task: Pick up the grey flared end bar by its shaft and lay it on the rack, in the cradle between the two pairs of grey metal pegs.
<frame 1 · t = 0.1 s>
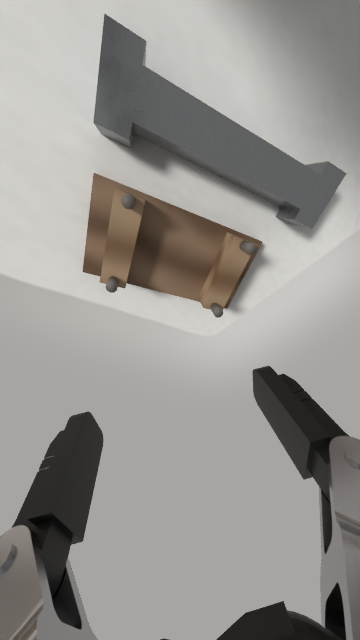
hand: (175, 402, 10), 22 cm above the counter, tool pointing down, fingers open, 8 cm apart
grey flared end bar: (223, 157, 23), on the counter
rack: (174, 253, 28), on the counter
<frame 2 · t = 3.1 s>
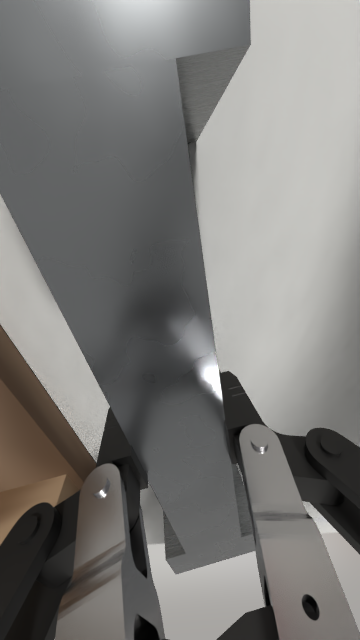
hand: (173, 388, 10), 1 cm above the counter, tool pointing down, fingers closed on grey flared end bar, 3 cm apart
grey flared end bar: (172, 378, 11), on the counter, touching gripper
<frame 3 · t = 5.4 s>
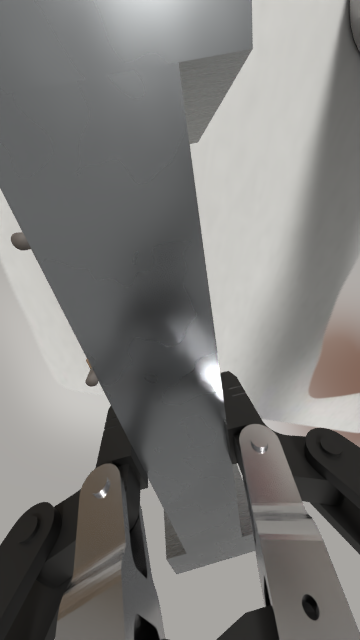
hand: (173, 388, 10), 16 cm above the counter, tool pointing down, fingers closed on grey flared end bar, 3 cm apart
grey flared end bar: (173, 378, 11), point 15 cm above the counter, touching gripper
rack: (121, 292, 24), on the counter
when the fingers open (7 cm above the counter, at t = 8.0 s): grey flared end bar drops 1 cm, resting on rack.
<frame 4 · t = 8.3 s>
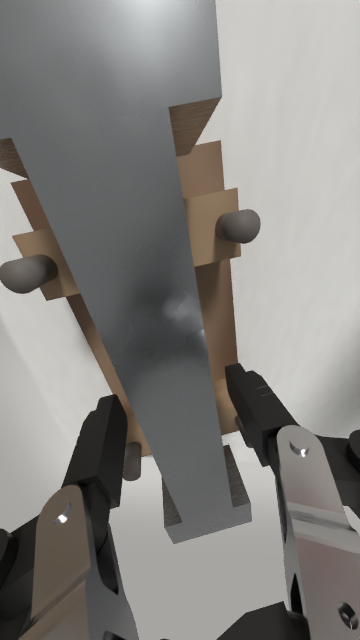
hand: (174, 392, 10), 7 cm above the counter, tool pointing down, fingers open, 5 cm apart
grey flared end bar: (170, 362, 12), point 4 cm above the counter, touching rack
rack: (164, 329, 16), on the counter
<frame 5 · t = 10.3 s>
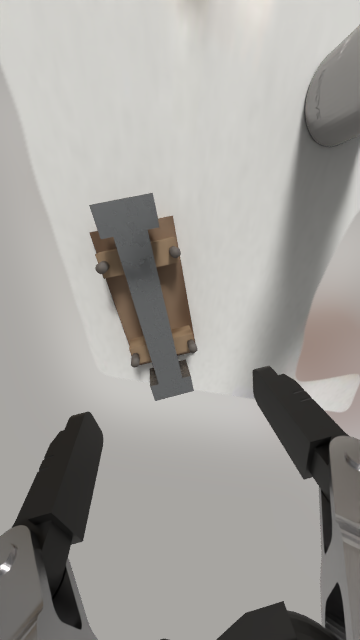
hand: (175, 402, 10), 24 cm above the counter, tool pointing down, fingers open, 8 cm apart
grey flared end bar: (153, 308, 28), point 4 cm above the counter, touching rack
rack: (151, 298, 32), on the counter
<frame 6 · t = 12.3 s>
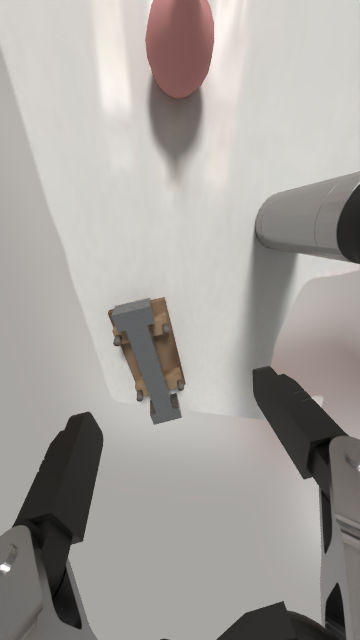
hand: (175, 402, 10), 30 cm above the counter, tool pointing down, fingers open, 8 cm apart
pink teardrop shape: (175, 71, 26), on the counter
grey flared end bar: (151, 361, 39), point 4 cm above the counter, touching rack
rack: (151, 349, 43), on the counter
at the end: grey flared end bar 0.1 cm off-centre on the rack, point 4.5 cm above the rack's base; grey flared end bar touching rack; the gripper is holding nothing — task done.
